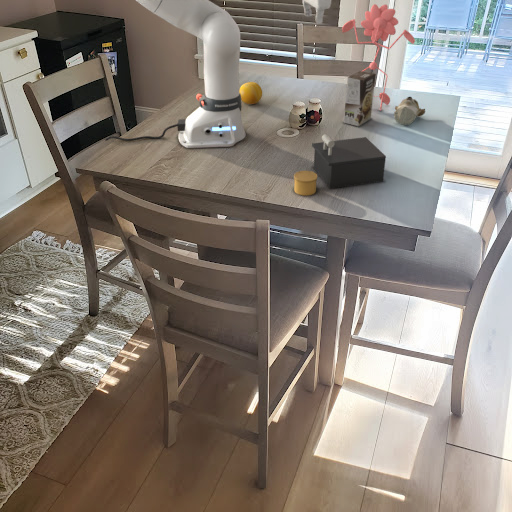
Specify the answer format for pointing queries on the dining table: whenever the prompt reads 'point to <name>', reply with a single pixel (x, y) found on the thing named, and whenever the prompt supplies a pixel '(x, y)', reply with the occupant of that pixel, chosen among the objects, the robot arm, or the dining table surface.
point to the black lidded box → (349, 172)
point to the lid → (347, 150)
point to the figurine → (378, 34)
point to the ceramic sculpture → (407, 111)
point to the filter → (305, 182)
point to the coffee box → (359, 98)
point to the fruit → (250, 93)
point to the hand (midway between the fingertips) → (313, 19)
